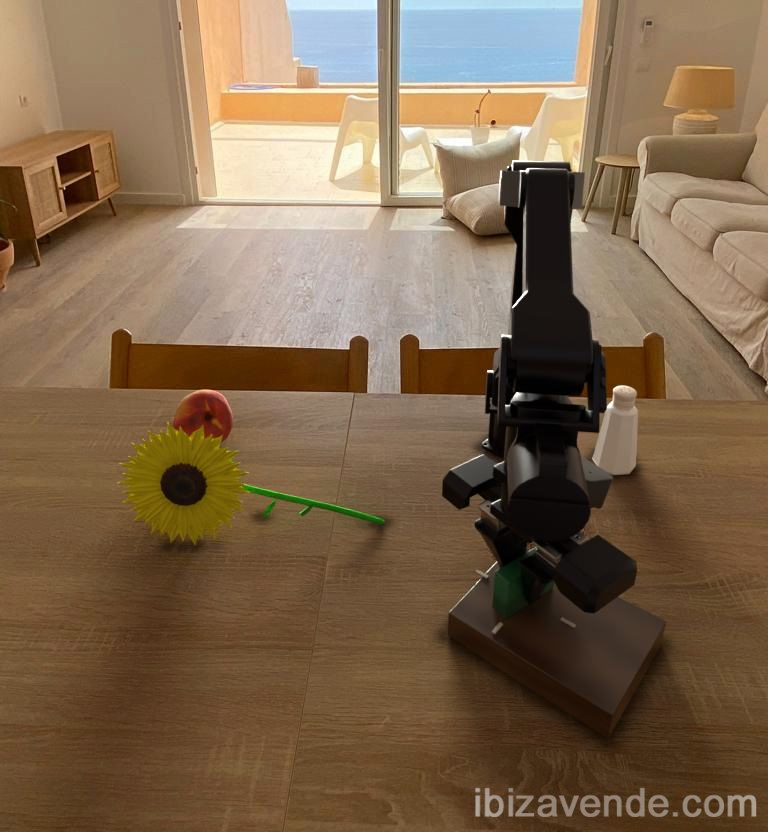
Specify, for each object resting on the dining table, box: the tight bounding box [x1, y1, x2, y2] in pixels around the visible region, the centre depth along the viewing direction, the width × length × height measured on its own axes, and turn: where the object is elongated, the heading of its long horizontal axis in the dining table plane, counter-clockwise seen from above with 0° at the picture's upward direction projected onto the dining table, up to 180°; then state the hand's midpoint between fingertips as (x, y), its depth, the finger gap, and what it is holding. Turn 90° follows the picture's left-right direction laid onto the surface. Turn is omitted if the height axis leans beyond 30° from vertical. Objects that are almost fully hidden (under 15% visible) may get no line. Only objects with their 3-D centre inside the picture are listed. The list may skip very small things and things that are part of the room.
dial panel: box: [447, 549, 667, 740], centre depth 65 cm, size 12×17×3 cm
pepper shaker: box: [591, 385, 639, 476], centre depth 88 cm, size 5×5×11 cm
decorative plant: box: [117, 421, 385, 546], centre depth 78 cm, size 15×6×30 cm
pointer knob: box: [492, 546, 554, 619], centre depth 65 cm, size 6×2×5 cm, turn 125°
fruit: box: [172, 389, 234, 444], centre depth 94 cm, size 8×8×8 cm
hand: (523, 593), depth 66 cm, fingers closed on pointer knob, 2 cm apart
